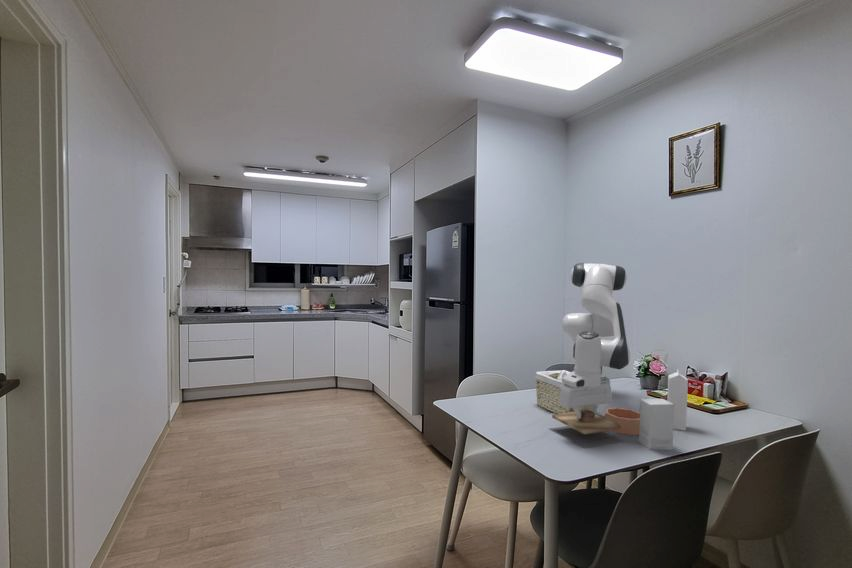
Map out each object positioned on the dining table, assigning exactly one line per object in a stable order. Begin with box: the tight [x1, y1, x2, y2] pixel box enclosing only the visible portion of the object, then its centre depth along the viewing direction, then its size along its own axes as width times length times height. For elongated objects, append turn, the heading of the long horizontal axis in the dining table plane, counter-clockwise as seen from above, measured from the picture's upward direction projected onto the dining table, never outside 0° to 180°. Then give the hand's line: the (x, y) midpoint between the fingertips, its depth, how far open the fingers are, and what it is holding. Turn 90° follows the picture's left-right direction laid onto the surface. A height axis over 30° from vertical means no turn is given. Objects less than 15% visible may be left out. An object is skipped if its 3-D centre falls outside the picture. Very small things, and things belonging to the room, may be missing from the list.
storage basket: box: [534, 369, 599, 415], centre depth 174 cm, size 24×16×15 cm
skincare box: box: [638, 398, 674, 450], centre depth 138 cm, size 8×7×16 cm
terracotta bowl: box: [604, 407, 640, 436], centre depth 154 cm, size 13×13×6 cm
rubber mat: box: [548, 425, 626, 449], centre depth 146 cm, size 18×18×1 cm
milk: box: [666, 368, 689, 432], centre depth 159 cm, size 6×6×22 cm
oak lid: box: [551, 409, 621, 434], centre depth 147 cm, size 16×16×4 cm
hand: (585, 417), depth 147 cm, fingers closed on oak lid, 4 cm apart
